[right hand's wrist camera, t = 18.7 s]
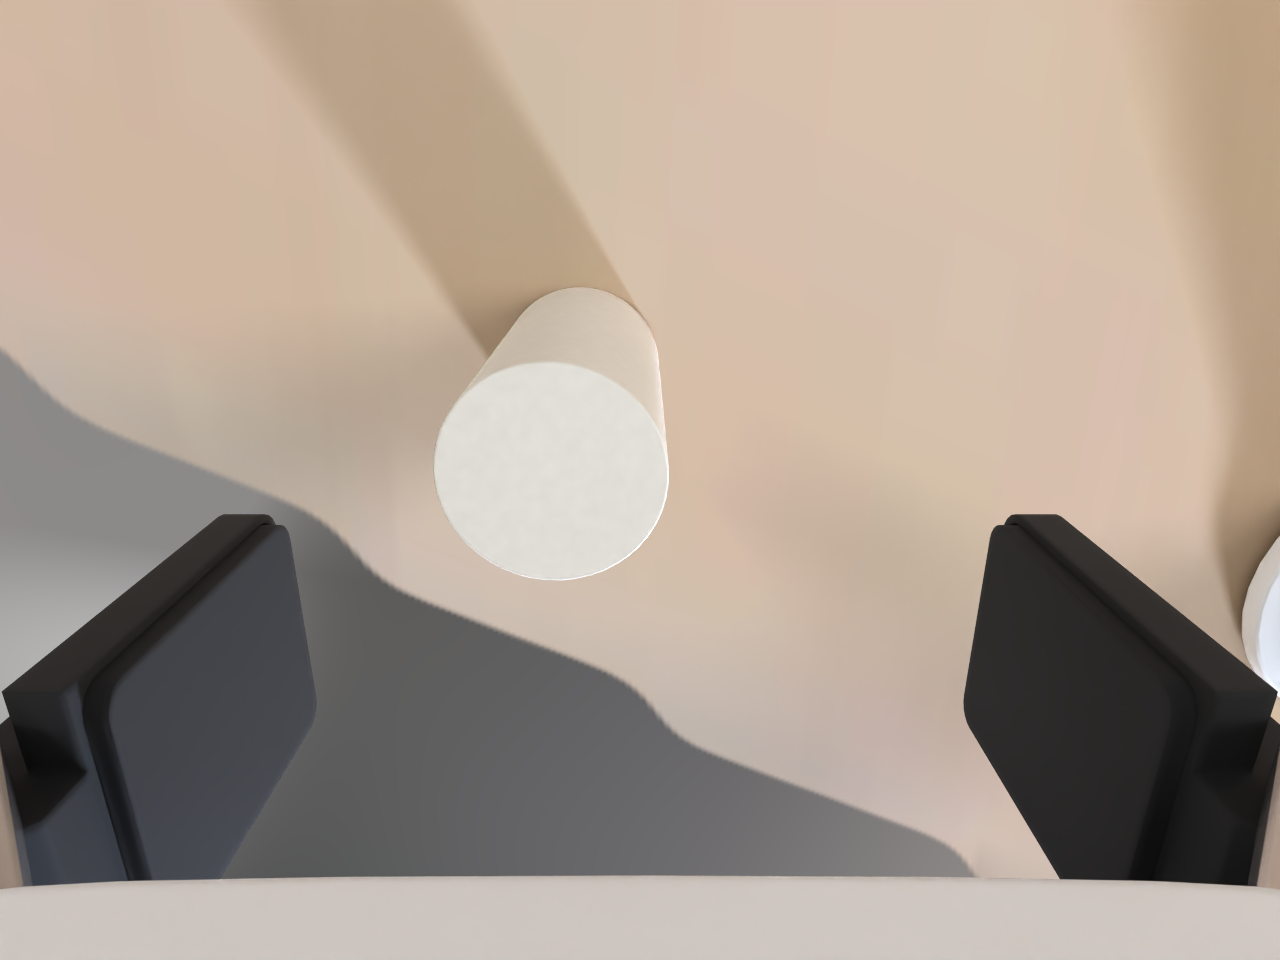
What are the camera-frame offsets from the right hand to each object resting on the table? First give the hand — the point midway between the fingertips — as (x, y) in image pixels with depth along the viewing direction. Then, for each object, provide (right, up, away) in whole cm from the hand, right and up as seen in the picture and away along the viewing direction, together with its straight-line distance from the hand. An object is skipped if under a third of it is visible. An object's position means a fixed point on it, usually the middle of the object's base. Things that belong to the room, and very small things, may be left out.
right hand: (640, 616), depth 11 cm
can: (-2, +6, +21) cm, 22 cm away
